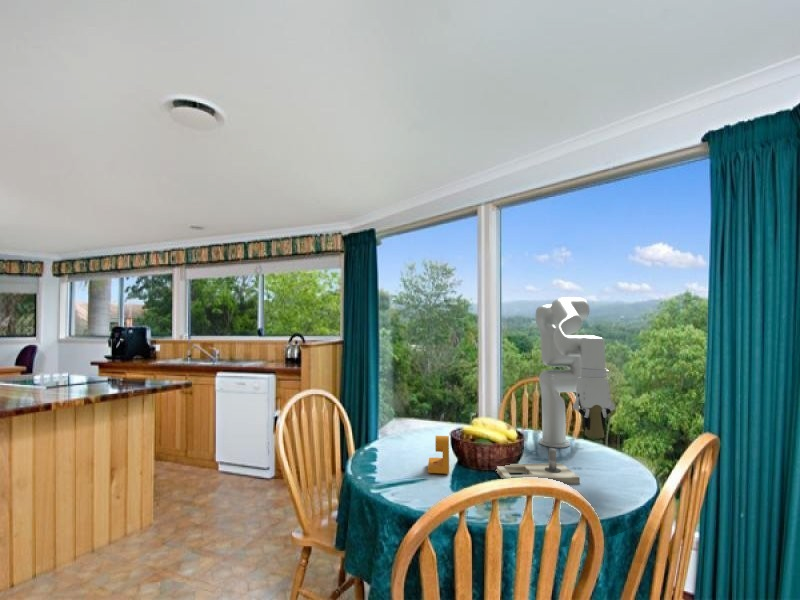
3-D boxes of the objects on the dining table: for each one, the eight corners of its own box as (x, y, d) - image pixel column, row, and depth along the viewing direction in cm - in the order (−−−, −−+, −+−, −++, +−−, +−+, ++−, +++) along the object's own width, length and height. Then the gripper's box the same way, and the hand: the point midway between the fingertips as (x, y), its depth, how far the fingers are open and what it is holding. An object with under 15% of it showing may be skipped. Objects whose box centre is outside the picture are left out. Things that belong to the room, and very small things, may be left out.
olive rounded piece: (606, 438, 139) (605, 404, 140) (586, 437, 140) (586, 403, 141) (601, 433, 145) (601, 400, 146) (582, 432, 146) (582, 400, 147)
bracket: (429, 464, 158) (429, 431, 159) (448, 465, 157) (448, 432, 158) (427, 475, 147) (427, 439, 148) (449, 476, 147) (448, 440, 147)
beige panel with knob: (495, 470, 152) (494, 444, 153) (561, 468, 153) (561, 443, 154) (506, 484, 138) (506, 456, 139) (579, 483, 139) (579, 455, 140)
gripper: (612, 372, 147) (613, 426, 147) (563, 372, 147) (564, 426, 146) (623, 375, 140) (625, 431, 139) (572, 375, 140) (574, 432, 139)
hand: (594, 428), depth 143 cm, fingers closed on olive rounded piece, 4 cm apart
